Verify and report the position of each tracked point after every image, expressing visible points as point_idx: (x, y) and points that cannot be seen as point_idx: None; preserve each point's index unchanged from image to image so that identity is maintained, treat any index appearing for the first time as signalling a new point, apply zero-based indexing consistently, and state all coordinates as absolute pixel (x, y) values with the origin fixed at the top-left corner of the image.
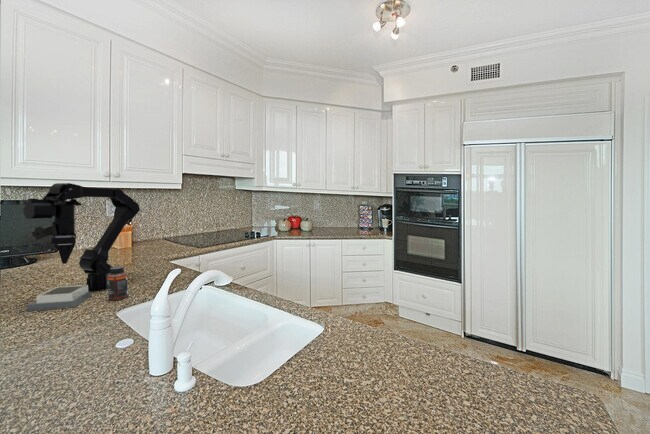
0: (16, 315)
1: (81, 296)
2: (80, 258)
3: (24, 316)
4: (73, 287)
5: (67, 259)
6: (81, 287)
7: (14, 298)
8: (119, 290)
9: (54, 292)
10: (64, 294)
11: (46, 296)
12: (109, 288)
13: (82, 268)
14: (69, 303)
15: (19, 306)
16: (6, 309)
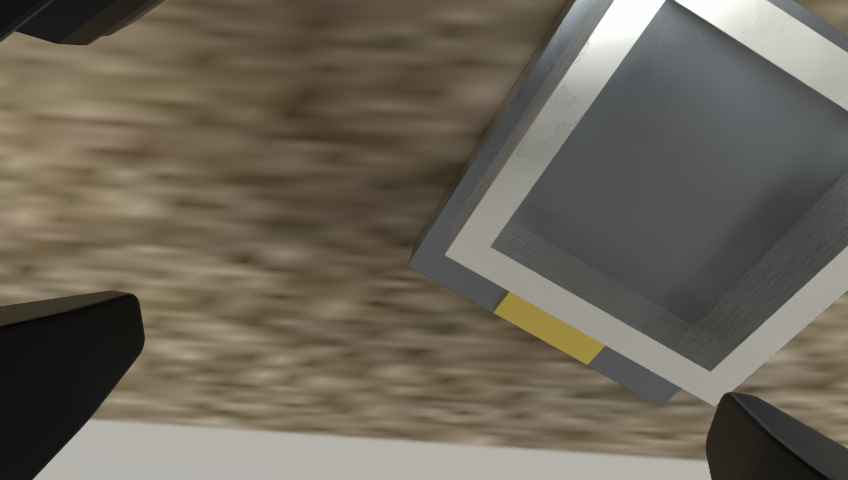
0: (704, 419)
1: (814, 25)
2: (11, 31)
3: (787, 392)
4: (590, 102)
5: (843, 460)
6: (742, 25)
7: (220, 394)
8: None
9: (534, 252)
10: None
11: (773, 343)
12: None
13: None
14: None
15: (469, 391)
16: (485, 442)
